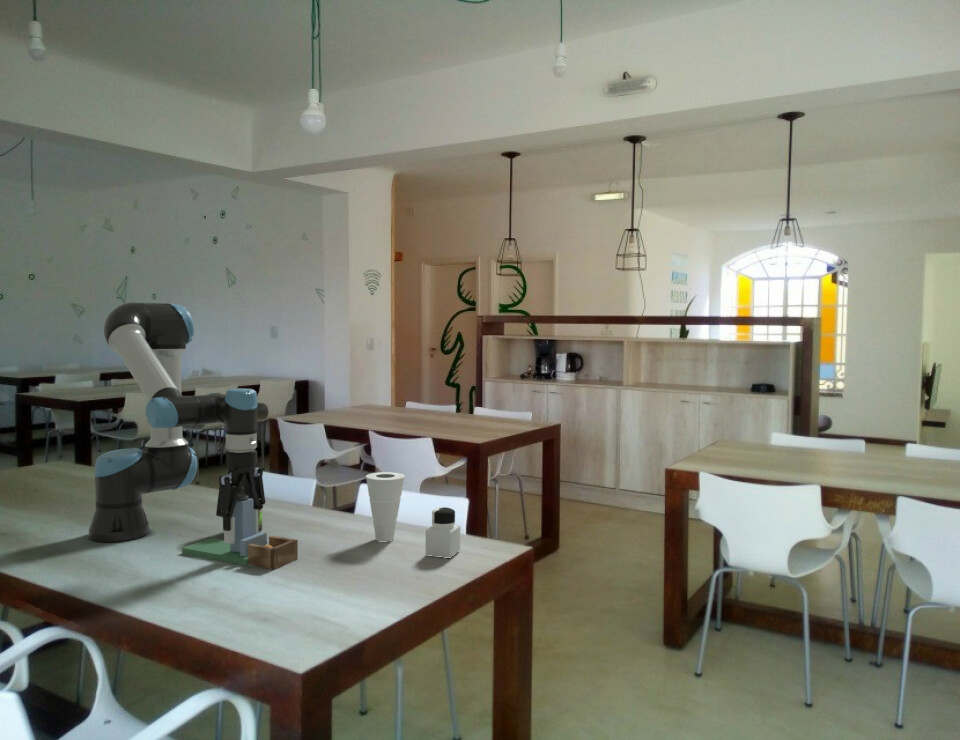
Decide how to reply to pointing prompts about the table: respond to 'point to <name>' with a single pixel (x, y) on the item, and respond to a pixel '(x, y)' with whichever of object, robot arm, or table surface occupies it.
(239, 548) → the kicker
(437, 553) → the medicine bottle
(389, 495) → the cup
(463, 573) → the table surface
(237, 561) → the plate
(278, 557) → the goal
